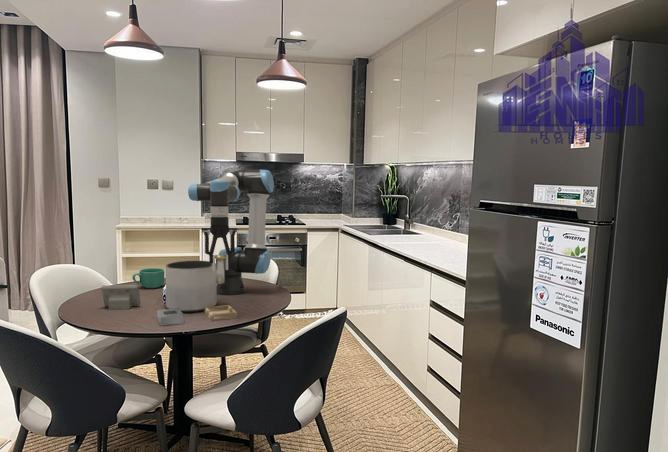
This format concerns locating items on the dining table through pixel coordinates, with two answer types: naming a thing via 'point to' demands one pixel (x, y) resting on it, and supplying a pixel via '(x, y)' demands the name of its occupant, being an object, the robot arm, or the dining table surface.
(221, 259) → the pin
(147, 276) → the mug
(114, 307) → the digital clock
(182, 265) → the planter
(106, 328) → the dining table surface
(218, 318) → the tray
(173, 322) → the block
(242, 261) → the robot arm
